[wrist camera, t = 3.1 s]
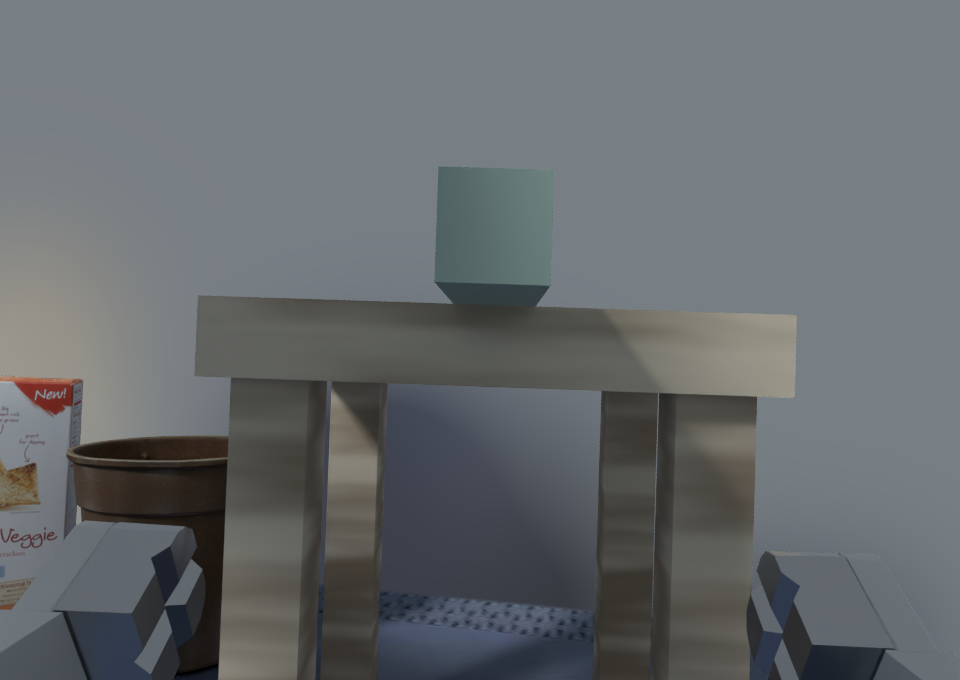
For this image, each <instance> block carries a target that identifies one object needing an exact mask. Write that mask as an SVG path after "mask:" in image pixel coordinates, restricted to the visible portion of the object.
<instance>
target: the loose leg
mask: <svg viewBox="0 0 960 680" xmlns="http://www.w3.org/2000/svg"><path fill="white" fill-rule="evenodd" d="M438 171H439V172H438V199H437V227H436V253H435V254H436V256H435V283H436V284H437V285H438V286H439V288H440V289H441V290H442V291H443V292H444V293H445V294H446V296H447V297H448V298H449V299H450V300H451V301H452V303H453V304H471V305H502V306H532V307H535V306H536V305H537V303H538V302H539V301H540V299H541V298H542V297H543V295H544V294H545V293H546V291H547V290H548V288H549V287H550V286H551V257H552V226H553V224H552V223H553V196H554V170H541V169H540V170H539V169H504V168H469V167H439V170H438Z"/></svg>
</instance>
